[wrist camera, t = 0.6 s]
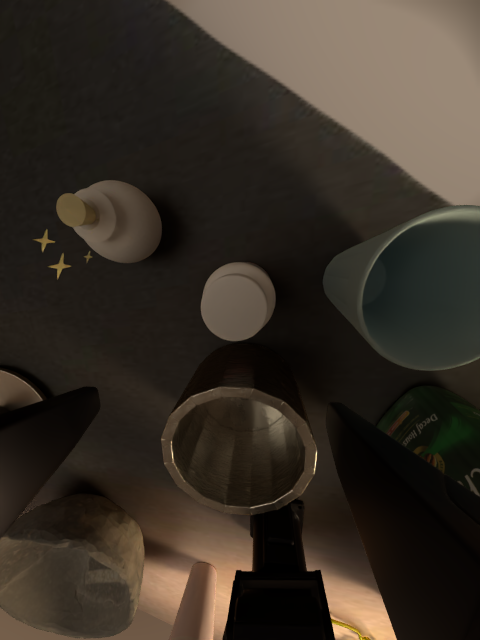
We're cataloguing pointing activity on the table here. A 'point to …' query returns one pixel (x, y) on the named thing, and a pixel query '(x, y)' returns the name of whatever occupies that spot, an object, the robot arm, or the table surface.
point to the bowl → (73, 567)
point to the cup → (415, 289)
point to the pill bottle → (238, 301)
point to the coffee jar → (438, 431)
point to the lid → (17, 391)
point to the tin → (240, 433)
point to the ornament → (111, 221)
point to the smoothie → (197, 605)
